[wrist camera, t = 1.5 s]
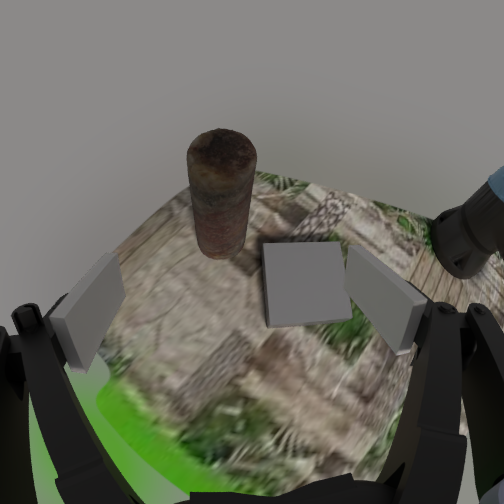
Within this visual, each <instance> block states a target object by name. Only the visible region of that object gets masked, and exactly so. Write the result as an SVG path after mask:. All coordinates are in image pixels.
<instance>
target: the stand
mask: <svg viewBox="0 0 504 504" xmlns="http://www.w3.org/2000/svg"><path fill="white" fill-rule="evenodd" d="M261 256H262V269H263V281H264V293H265V306H266V319H267V328H282V327H295V326H307V325H317V324H327V323H336V322H345V321H347V320H349V319H351V318H353V317H352V310H351V303H350V297H349V294H348V293H347V292H346V291H345V289H344V288H343V285H344V278H345V268H344V263H343V257H342V252H341V247H340V242H298V243H263V246H262V250H261Z"/></svg>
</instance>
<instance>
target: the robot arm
mask: <svg viewBox="0 0 504 504" xmlns="http://www.w3.org/2000/svg"><path fill="white" fill-rule="evenodd" d="M431 240H432V244H433V248H434V251H435V253H436V255H437V257H438V259H439V261H440V262H441V264H442V265H443V267H444V268H445V269H446V270H447V271H448V272H449V273H450V274H451V275H453V276H454V277H456V278H459V279H469V278H471V277H472V276H474V275H476V274H477V273H478V272H479V271H480V270H481V268H482V267H483V266H484V264H485V263H486V262H487V260H488V259H489V258H490V256H491V255H492V254H494V253H495V252H497V251H499V253H500V255H501V257H502V259H503V261H504V166H502V167H501V168H500V169H498V170H497V171H496V172H495V173H494V174H493V175H491V176H490V177H489V178H488V181H487V182H486V183H485V184H484V185H483V186H482V187H481V188H480V189H478V190H477V191H476V192H475V193H474V194H473V195H472V196H471V197H470V198H469V199H468V200H467V201H466V202H465V203H464V204H463V205H461V206H458V207H455V208H452V209H449V210H446V211H444V212H442V213H441V214H440V215H439V216H438V217H437V218H436V219H435V220H434V221H433V224H432V227H431ZM343 288H344V289H345V291H346V292H347V293H348V294H349V296H350V297H351V298H352V299H353V301H354V302H355V303H356V304H357V305H358V307H359V308H360V309H361V310H362V312H363V313H364V314H365V315H366V317H367V318H368V319H369V321H370V322H371V323H372V324H373V326H374V327H375V328H376V329H377V331H378V332H379V333H380V335H381V336H382V337H383V339H384V340H385V341H386V342H387V344H388V345H389V346H390V348H391V349H392V350H393V352H394V353H395V354H396V356H397V355H401V354H405V353H409V352H410V350H411V347H412V345H413V342H415V343H416V344H417V345H418V348H417V350H416V353H415V355H414V358H413V360H412V362H411V365H410V366H413V368H412V373H411V378H410V382H409V387H408V391H407V395H406V399H405V403H404V406H403V410H402V414H401V417H400V420H399V424H398V427H397V430H396V433H395V436H394V439H393V442H392V445H391V448H390V451H389V454H388V456H387V459H386V462H385V464H384V467H383V469H382V471H381V473H380V475H379V477H378V478H377V480H376V481H375V482H374V481H366V480H354V479H353V477H352V474H351V473H347V474H344V475H340V476H336V477H332V478H328V479H324V480H319V481H314V482H312V483H310V484H308V485H305V486H303V487H300V488H298V489H296V490H293V491H290V492H288V493H285V494H282V495H280V496H276V497H267V496H257V495H249V494H242V493H235V492H190V500H187V501H182V502H179V503H175V504H456V503H457V499H458V495H459V491H460V486H461V481H462V476H463V470H464V464H465V456H466V449H467V438H466V436H465V435H459V427H460V415H461V397H462V399H463V403H464V408H465V413H466V418H467V423H468V429H469V435H470V440H471V448H472V456H473V465H474V476H475V485H476V490H477V495H478V499H479V504H504V333H503V331H502V329H501V328H500V326H499V324H498V323H497V321H496V319H495V318H494V316H493V315H492V313H491V311H490V310H489V309H488V308H487V307H485V305H483V304H480V303H479V304H478V303H471V304H469V306H468V309H467V312H466V313H458V311H457V309H456V308H455V307H454V306H452V305H451V304H448V303H445V302H435V303H434V302H433V301H432V300H431V299H430V298H429V297H427V296H426V295H425V294H424V293H423V292H422V293H421V291H420V290H419V289H417V287H415V286H414V285H413V284H412V283H410V282H408V281H406V280H404V279H403V278H401V277H400V276H399V275H398V274H397V273H395V272H394V271H393V270H392V269H390V268H389V267H388V266H387V265H385V264H384V263H383V262H382V261H380V260H379V259H378V258H377V257H375V256H374V255H373V254H371V253H370V252H369V251H368V250H366V249H365V248H364V247H362V246H361V245H349V250H348V257H347V265H346V272H345V278H344V285H343ZM125 297H126V296H125V291H124V286H123V281H122V276H121V270H120V265H119V259H118V253H105V254H104V255H103V256H102V257H101V259H100V260H98V262H97V263H96V264H95V265H94V266H93V267H92V268H91V269H90V270H89V271H88V272H87V273H86V274H85V276H84V277H83V278H82V279H81V280H80V281H79V282H78V283H77V284H76V286H75V287H74V288H73V289H72V290H71V291H70V292H69V293H67V294H65V295H63V296H62V297H60V298H59V300H58V301H57V302H56V303H55V305H53V307H52V308H51V309H50V310H49V311H48V312H47V314H46V315H45V316H44V317H43V318H42V315H41V313H40V310H39V307H38V305H37V304H34V303H28V304H24V305H22V306H19V307H18V308H17V309H15V310H14V311H13V313H12V315H11V317H12V319H13V322H14V324H15V327H16V329H17V331H18V334H19V335H12V336H9V335H8V333H7V331H6V329H5V327H3V326H0V504H38V502H37V497H36V491H35V486H34V480H33V473H32V464H31V454H30V441H29V393H30V397H31V401H32V405H33V408H34V412H35V415H36V418H37V421H38V424H39V428H40V430H41V433H42V437H43V439H44V442H45V445H46V447H47V450H48V453H49V455H50V457H51V460H52V462H53V465H54V467H55V469H56V471H57V474H58V478H57V479H55V484H56V487H57V489H58V492H59V493H60V496H61V498H62V499H63V502H64V503H65V504H145V503H144V502H143V501H142V500H141V499H140V497H139V496H138V495H137V494H136V493H135V492H134V490H133V489H132V487H131V486H130V485H129V483H128V482H127V481H126V479H125V478H124V477H123V475H122V474H121V472H120V471H119V469H118V468H117V466H116V465H115V464H114V462H113V460H112V459H111V457H110V456H109V454H108V453H107V451H106V450H105V448H104V447H103V445H102V443H101V441H100V440H99V438H98V436H97V435H96V433H95V431H94V429H93V427H92V426H91V424H90V422H89V420H88V418H87V416H86V415H85V413H84V411H83V408H82V406H81V405H80V402H79V400H78V398H77V397H76V394H75V392H74V390H73V388H72V385H71V383H70V381H69V378H68V376H67V374H66V372H65V370H64V365H65V364H66V362H68V365H69V367H70V369H71V371H72V372H79V373H87V371H88V369H89V367H90V365H91V363H92V361H93V359H94V356H95V354H96V352H97V350H98V348H99V346H100V344H101V342H102V340H103V338H104V336H105V334H106V332H107V330H108V328H109V326H110V324H111V323H112V321H113V319H114V317H115V315H116V313H117V311H118V309H119V308H120V306H121V304H122V302H123V300H124V298H125Z"/></svg>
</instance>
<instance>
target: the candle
mask: <svg viewBox="0 0 504 504" xmlns="http://www.w3.org/2000/svg"><path fill="white" fill-rule="evenodd" d="M256 162H257V154H256V150H255V148H254V146H253V144H252V143H251V141H250V140H249V139H248V138H247V137H246V136H245V135H243V134H242V133H239V132H236V131H233V130H228V129H220V128H218V129H215V130H211V131H208V132H206V133H203V134H201V135H199V136H198V137H197V138H196V139H195V140H194V141H193V142H192V143H191V145H190V147H189V149H188V151H187V166H188V177H189V183H190V191H191V199H192V206H193V212H194V220H195V228H196V234H197V240H198V245H199V248H200V250H201V251H202V253H203V254H204V255H206V256H207V257H208V258H212V259H216V260H218V259H228V258H232V257H234V256H236V255H237V254H238V253H239V252H240V251H241V250H242V248H243V246H244V243H245V237H246V231H247V223H248V216H249V208H250V202H251V194H252V187H253V182H254V174H255V168H256Z"/></svg>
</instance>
